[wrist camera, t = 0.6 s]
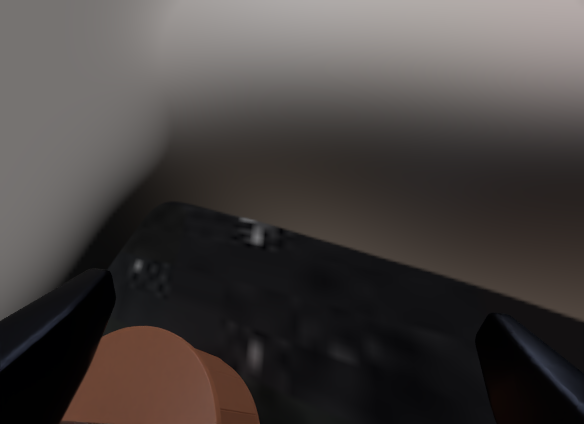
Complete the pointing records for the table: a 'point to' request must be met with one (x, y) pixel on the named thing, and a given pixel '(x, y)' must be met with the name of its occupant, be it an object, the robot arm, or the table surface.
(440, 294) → the table surface
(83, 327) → the robot arm
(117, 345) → the pot lid
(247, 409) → the pot
